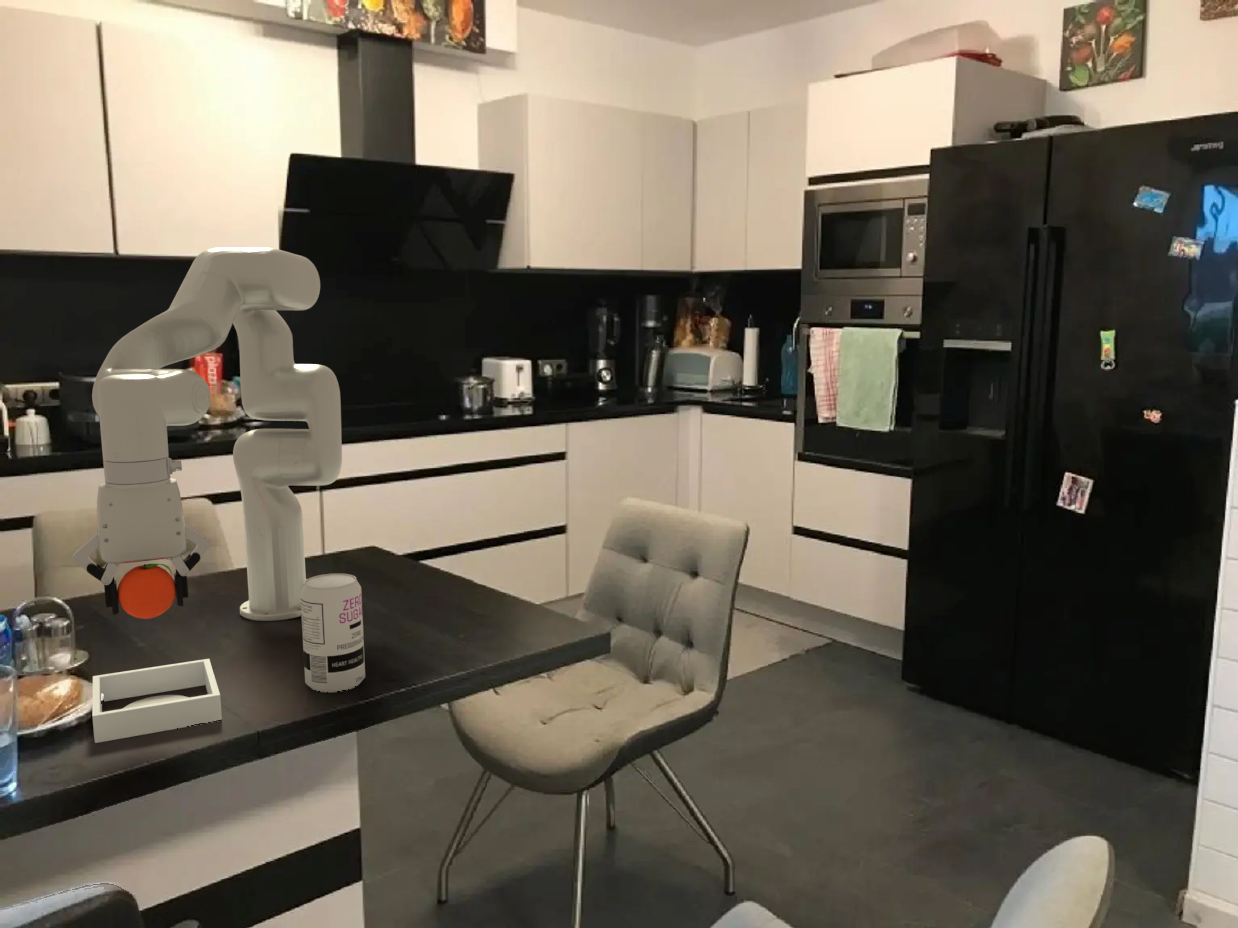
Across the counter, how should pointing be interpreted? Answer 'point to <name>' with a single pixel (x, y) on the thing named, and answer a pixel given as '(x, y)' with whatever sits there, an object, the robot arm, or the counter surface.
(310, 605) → the supplement can
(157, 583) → the clementine
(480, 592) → the counter surface
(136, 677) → the hollow rectangular sleeve
